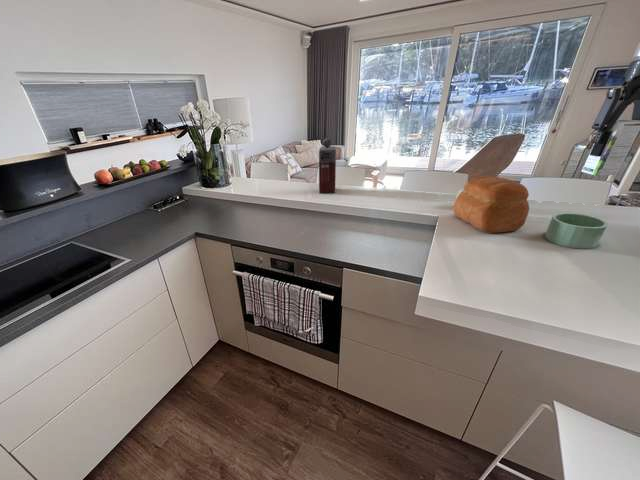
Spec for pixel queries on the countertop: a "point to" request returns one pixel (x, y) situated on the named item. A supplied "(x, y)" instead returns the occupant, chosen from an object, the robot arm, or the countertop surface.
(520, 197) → the bread
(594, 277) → the countertop surface
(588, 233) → the crock
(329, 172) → the glass liquor decanter
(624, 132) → the syrup box
